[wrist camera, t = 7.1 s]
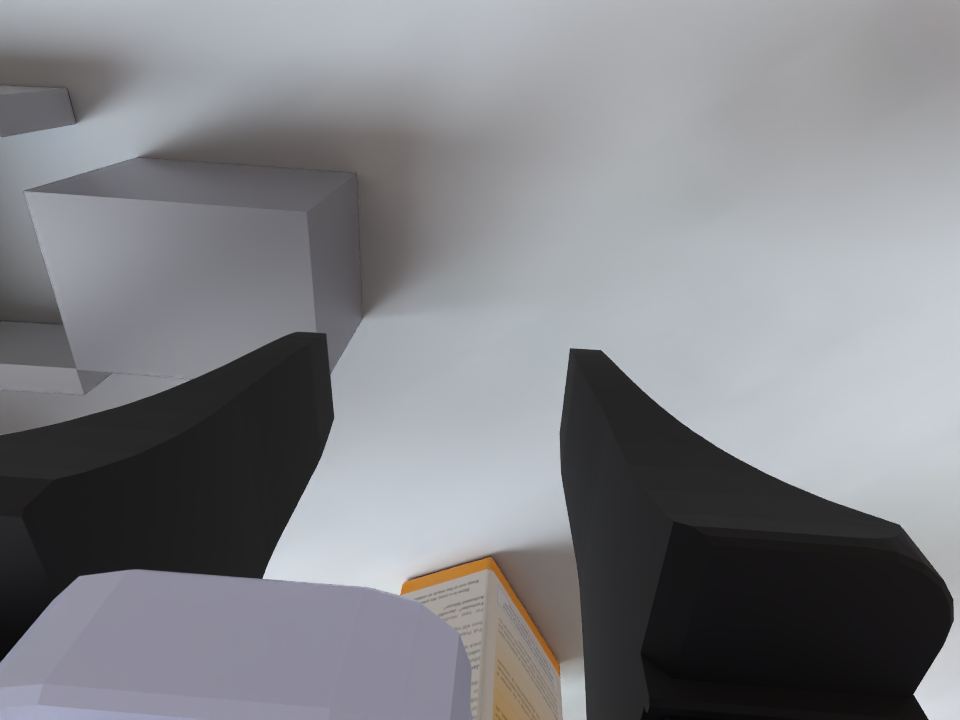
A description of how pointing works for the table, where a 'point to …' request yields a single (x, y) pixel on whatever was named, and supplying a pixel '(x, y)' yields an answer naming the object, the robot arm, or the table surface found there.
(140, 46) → the table surface
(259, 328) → the grey block
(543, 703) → the supplement box
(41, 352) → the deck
